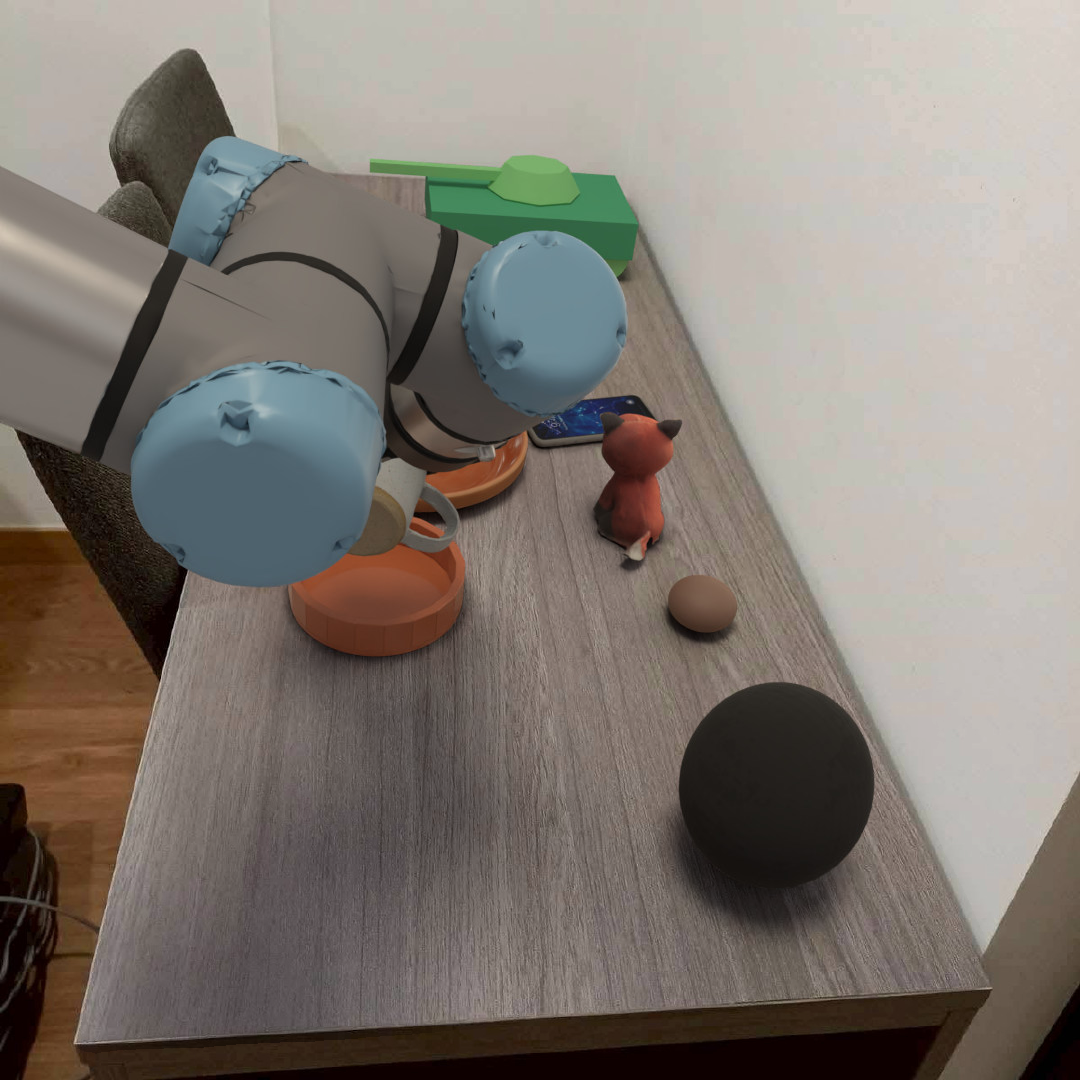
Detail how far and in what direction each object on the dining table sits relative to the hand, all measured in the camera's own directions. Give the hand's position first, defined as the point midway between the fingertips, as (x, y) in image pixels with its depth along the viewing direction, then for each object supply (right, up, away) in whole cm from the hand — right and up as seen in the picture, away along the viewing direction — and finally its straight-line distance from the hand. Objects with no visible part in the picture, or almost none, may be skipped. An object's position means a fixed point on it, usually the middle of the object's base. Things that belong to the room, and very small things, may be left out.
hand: (363, 468), depth 79 cm
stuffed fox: (+21, -5, +22) cm, 31 cm away
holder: (-1, -10, +11) cm, 15 cm away
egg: (+27, -13, +13) cm, 33 cm away
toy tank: (+7, +35, +69) cm, 78 cm away
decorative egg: (+28, -28, -5) cm, 39 cm away
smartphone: (+19, +7, +36) cm, 41 cm away
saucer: (0, +3, +28) cm, 28 cm away
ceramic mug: (+2, -5, +1) cm, 5 cm away
